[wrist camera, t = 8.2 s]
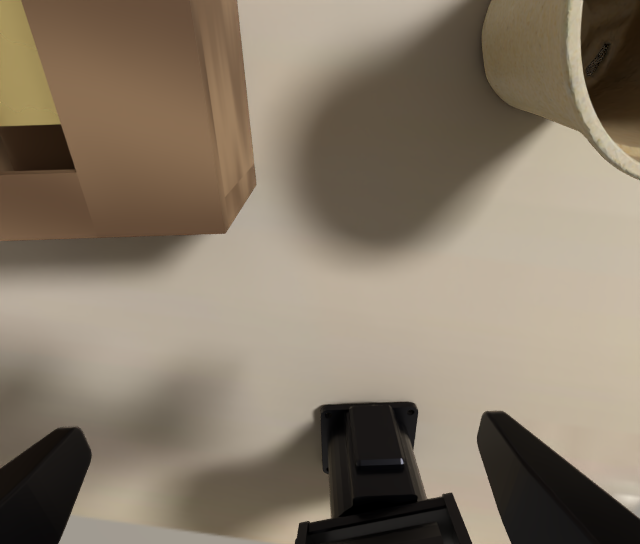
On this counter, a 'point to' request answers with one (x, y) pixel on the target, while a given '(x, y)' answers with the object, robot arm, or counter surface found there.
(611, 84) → the flower pot
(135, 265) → the counter surface
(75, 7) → the coin box
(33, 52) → the block
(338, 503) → the robot arm
